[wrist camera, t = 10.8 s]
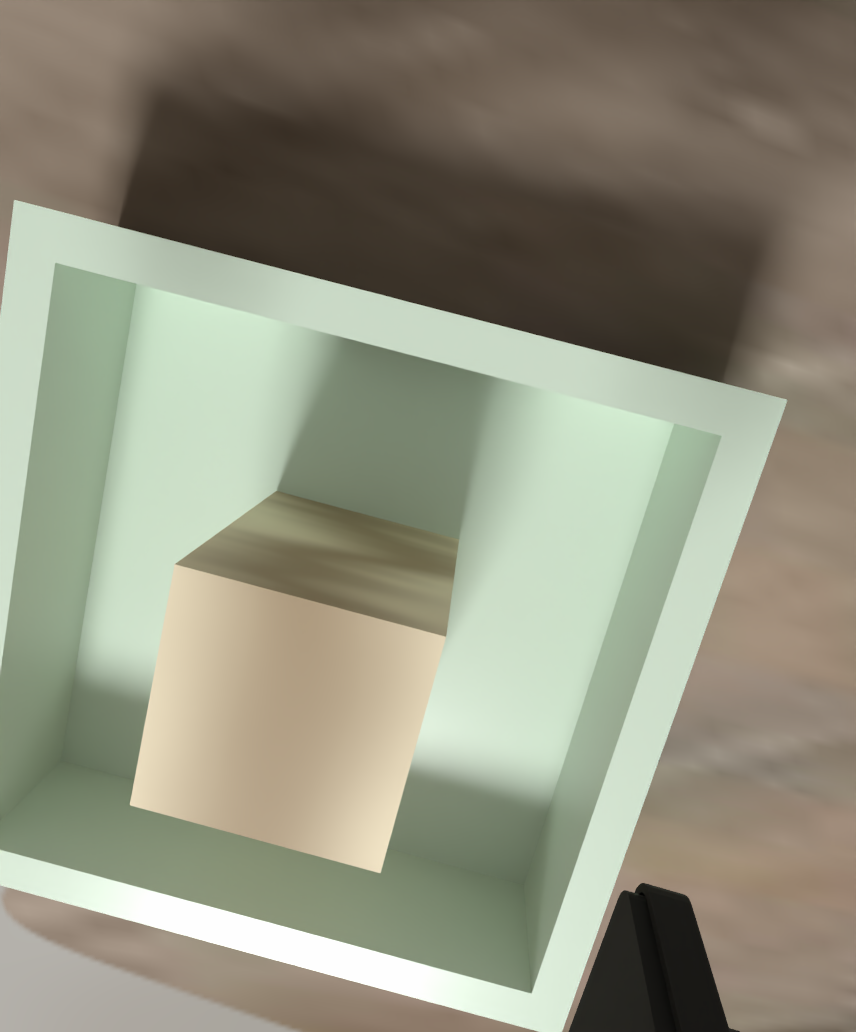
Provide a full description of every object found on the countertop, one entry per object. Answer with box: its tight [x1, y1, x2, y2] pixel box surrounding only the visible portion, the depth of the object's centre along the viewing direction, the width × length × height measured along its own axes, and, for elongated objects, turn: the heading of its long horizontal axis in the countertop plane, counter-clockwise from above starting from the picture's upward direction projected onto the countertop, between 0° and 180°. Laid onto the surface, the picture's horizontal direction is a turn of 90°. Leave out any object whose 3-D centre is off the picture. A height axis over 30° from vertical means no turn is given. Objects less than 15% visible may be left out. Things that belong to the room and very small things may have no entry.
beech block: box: [130, 491, 459, 873], centre depth 18 cm, size 5×5×7 cm
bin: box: [0, 200, 787, 1032], centre depth 20 cm, size 16×16×4 cm
